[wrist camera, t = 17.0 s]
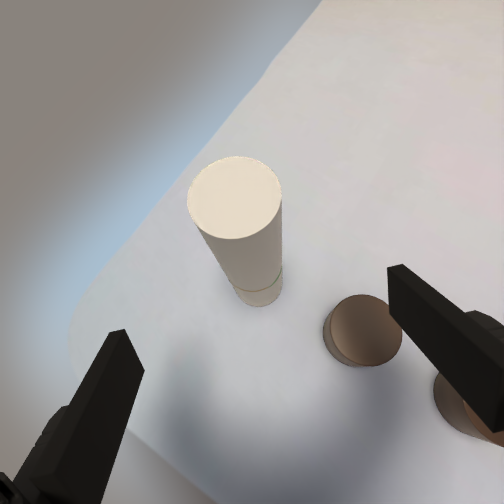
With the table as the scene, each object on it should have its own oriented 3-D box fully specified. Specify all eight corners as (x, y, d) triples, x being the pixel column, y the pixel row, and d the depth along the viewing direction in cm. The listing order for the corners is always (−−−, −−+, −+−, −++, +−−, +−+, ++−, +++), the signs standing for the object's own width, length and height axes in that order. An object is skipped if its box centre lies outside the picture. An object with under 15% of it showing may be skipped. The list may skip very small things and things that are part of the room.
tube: (248, 315, 27) (210, 256, 13) (227, 274, 28) (173, 181, 14) (291, 292, 27) (299, 210, 13) (268, 253, 29) (253, 142, 15)
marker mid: (338, 375, 24) (348, 377, 20) (313, 316, 26) (318, 307, 22) (396, 354, 24) (416, 351, 21) (367, 296, 26) (381, 284, 22)
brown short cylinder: (457, 446, 22) (493, 462, 18) (420, 375, 24) (446, 376, 20) (521, 422, 22) (569, 432, 18) (479, 353, 24) (516, 350, 20)
